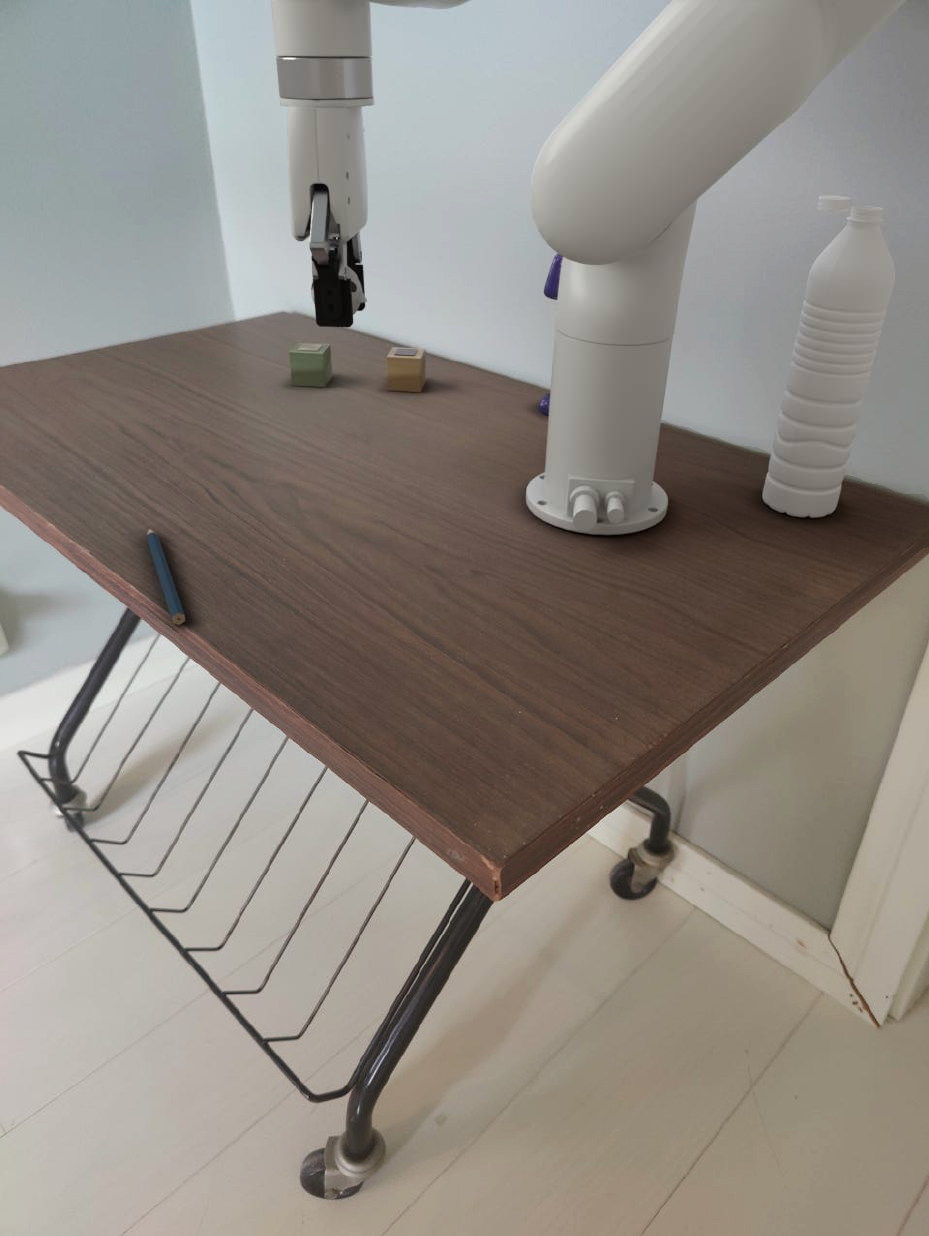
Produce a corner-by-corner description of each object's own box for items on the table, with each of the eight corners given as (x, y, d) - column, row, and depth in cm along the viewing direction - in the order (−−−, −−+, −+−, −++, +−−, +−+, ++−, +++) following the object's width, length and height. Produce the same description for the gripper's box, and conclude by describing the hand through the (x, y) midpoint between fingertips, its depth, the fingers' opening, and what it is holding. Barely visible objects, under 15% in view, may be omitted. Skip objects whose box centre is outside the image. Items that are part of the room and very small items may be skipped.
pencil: (187, 615, 64) (157, 526, 76) (174, 612, 64) (145, 522, 75) (182, 626, 65) (152, 534, 76) (169, 622, 64) (141, 531, 76)
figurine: (360, 329, 80) (357, 270, 77) (306, 326, 81) (300, 267, 78) (375, 315, 84) (373, 258, 81) (324, 312, 85) (319, 256, 82)
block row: (420, 392, 107) (420, 357, 105) (291, 385, 108) (288, 351, 106) (425, 381, 111) (425, 347, 108) (300, 375, 112) (297, 341, 110)
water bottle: (850, 515, 81) (933, 211, 68) (786, 522, 80) (857, 213, 66) (796, 476, 88) (860, 194, 75) (735, 482, 87) (790, 195, 73)
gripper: (305, 80, 80) (321, 294, 90) (249, 88, 66) (276, 342, 75) (389, 80, 80) (397, 296, 89) (352, 89, 65) (365, 345, 75)
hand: (341, 315), depth 82 cm, fingers closed on figurine, 5 cm apart
